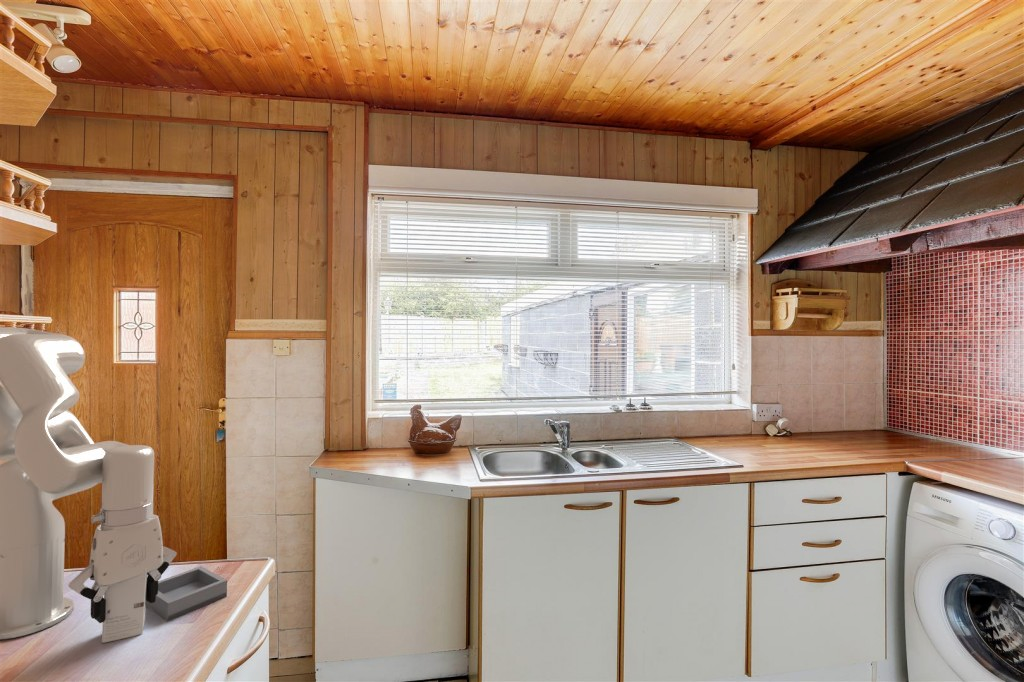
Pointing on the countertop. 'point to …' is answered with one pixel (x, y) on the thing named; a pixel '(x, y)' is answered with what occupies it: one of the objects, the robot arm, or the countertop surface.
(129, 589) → the skincare box
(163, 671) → the countertop surface
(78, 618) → the countertop surface
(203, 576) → the tray
